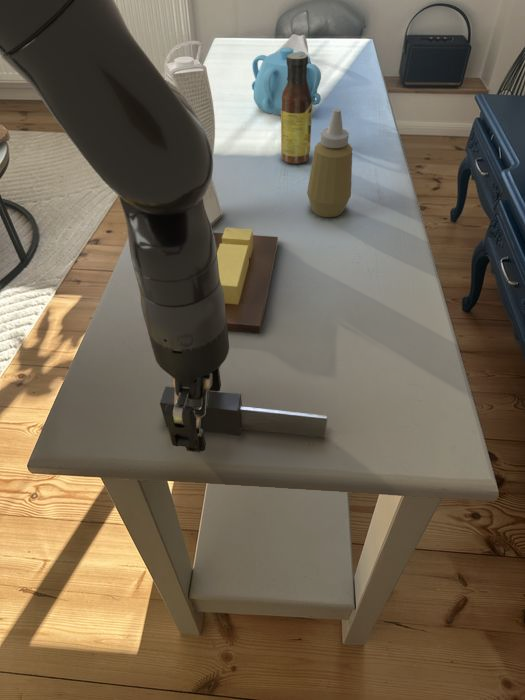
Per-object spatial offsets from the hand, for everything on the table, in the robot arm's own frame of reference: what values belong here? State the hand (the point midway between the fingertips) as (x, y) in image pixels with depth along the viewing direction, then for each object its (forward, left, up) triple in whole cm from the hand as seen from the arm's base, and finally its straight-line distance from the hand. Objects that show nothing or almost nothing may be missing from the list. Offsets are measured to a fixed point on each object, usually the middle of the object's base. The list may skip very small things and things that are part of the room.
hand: (204, 417), depth 57 cm
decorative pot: (-1, +97, -2) cm, 97 cm away
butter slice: (-2, +33, 0) cm, 33 cm away
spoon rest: (-2, +128, -2) cm, 128 cm away
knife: (+4, 0, -2) cm, 5 cm away
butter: (-2, +25, 0) cm, 25 cm away
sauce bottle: (+4, +70, -2) cm, 70 cm away
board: (-2, +27, -2) cm, 27 cm away
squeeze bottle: (+12, +50, -2) cm, 52 cm away
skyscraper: (-11, +44, -2) cm, 45 cm away
